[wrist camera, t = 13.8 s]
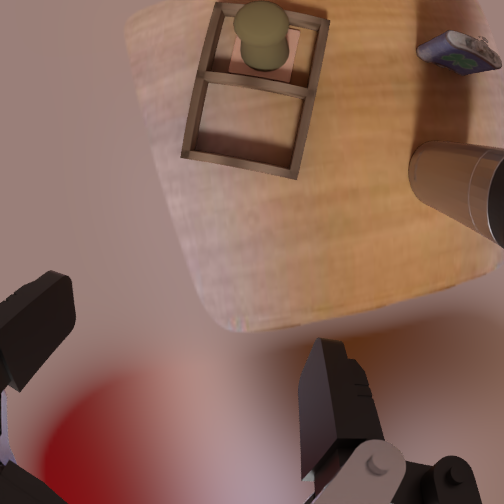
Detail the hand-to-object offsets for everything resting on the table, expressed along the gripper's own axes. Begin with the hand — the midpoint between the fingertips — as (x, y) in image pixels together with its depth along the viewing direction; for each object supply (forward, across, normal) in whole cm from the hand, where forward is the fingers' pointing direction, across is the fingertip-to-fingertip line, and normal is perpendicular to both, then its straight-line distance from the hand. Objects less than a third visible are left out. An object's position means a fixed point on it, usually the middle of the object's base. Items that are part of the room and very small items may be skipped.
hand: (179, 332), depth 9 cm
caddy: (+30, +2, -12) cm, 33 cm away
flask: (+30, -22, -25) cm, 45 cm away
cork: (+30, +2, -17) cm, 35 cm away
